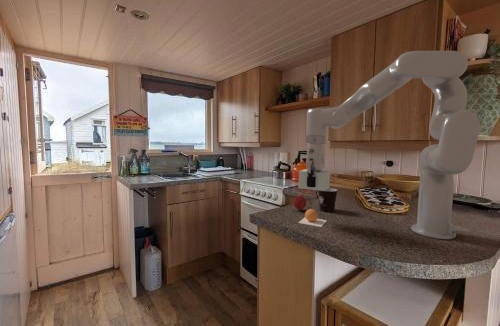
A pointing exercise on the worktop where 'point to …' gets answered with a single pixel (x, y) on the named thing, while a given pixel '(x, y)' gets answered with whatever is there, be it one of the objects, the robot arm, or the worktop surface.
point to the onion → (299, 202)
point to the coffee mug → (327, 199)
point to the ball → (311, 215)
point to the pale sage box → (321, 180)
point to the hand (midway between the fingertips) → (314, 185)
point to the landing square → (315, 223)
